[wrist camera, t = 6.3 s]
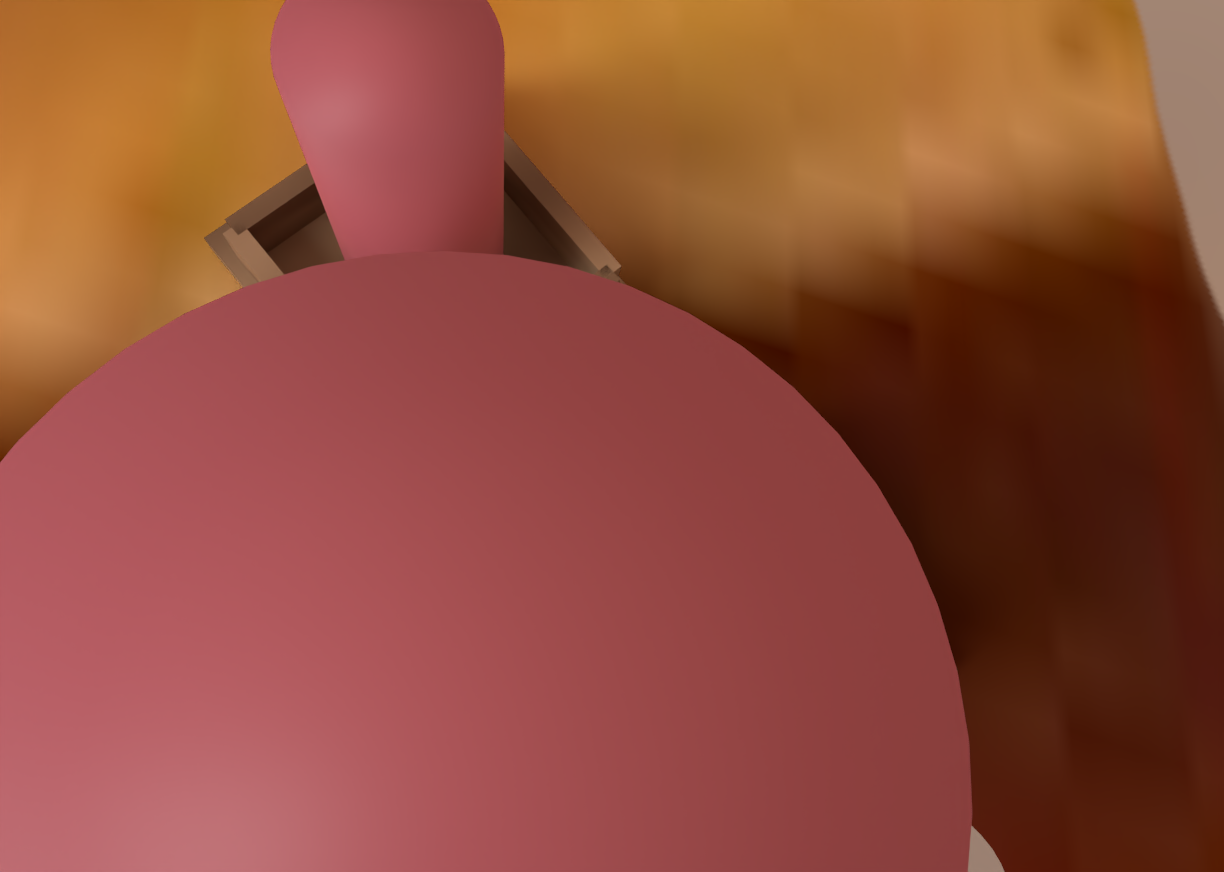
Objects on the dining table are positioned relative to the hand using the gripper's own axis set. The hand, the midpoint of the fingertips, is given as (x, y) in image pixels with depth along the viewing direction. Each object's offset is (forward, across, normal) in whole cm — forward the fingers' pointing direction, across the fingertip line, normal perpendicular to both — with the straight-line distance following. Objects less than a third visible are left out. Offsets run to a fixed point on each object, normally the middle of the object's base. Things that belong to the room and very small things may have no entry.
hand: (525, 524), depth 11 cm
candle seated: (+21, +5, +7) cm, 22 cm away
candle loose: (+3, 0, +5) cm, 6 cm away
